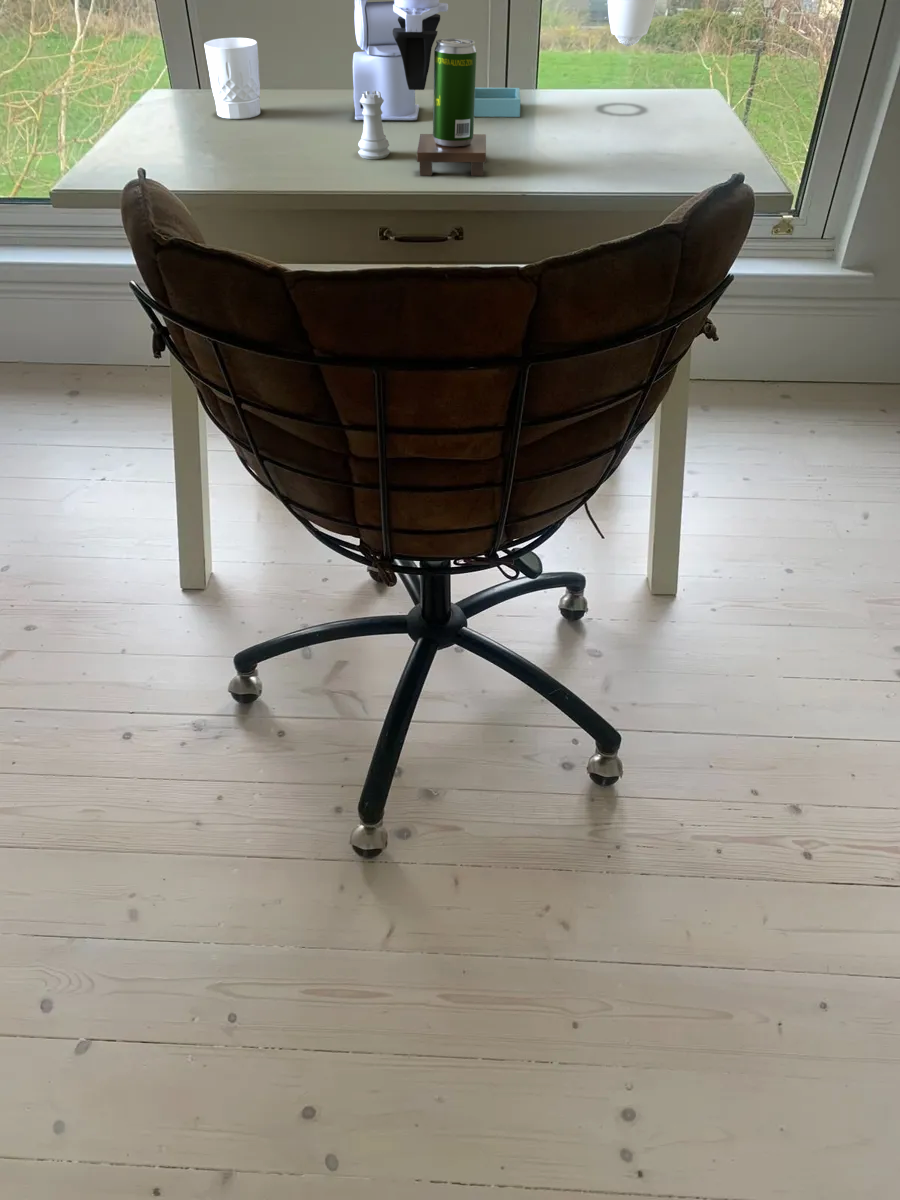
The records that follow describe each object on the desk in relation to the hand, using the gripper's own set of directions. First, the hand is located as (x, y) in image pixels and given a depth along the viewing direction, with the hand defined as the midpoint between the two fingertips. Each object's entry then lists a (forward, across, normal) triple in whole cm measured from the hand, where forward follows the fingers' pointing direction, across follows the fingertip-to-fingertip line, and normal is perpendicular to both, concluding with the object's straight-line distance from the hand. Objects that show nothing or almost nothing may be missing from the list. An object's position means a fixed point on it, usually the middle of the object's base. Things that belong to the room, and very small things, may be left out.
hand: (418, 82), depth 141 cm
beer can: (+6, -5, -5) cm, 9 cm away
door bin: (+9, +25, -11) cm, 29 cm away
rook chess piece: (+10, 0, +6) cm, 11 cm away
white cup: (+10, +22, +29) cm, 38 cm away
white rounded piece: (+10, +26, -31) cm, 41 cm away
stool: (+9, -5, -5) cm, 12 cm away
